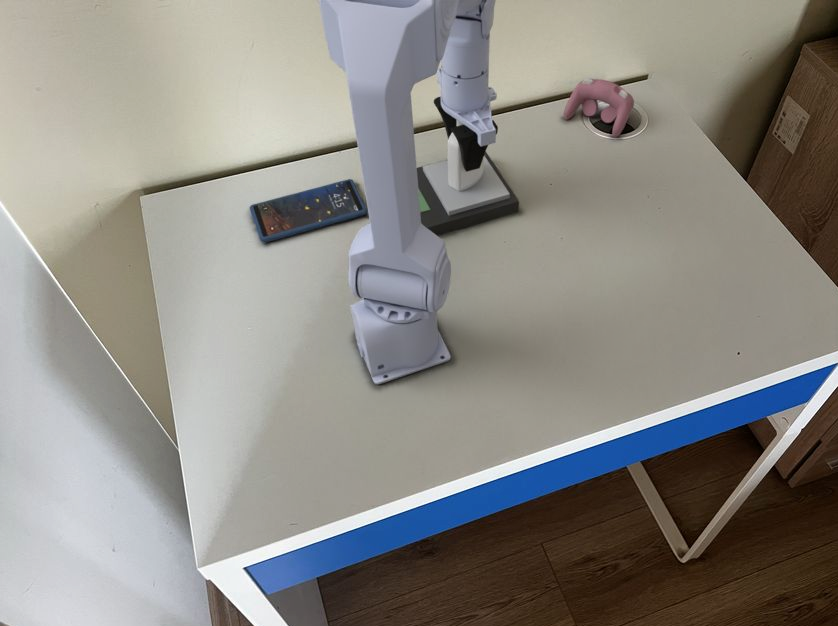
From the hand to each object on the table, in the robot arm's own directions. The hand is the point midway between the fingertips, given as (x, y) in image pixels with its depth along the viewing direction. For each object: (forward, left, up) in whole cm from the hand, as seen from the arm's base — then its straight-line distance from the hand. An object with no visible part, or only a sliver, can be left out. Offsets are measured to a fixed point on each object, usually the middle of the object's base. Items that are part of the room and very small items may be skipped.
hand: (465, 157), depth 95 cm
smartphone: (-22, +5, -7) cm, 23 cm away
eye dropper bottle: (0, 0, -4) cm, 4 cm away
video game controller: (+25, +8, -7) cm, 28 cm away
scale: (-2, 0, -7) cm, 7 cm away
